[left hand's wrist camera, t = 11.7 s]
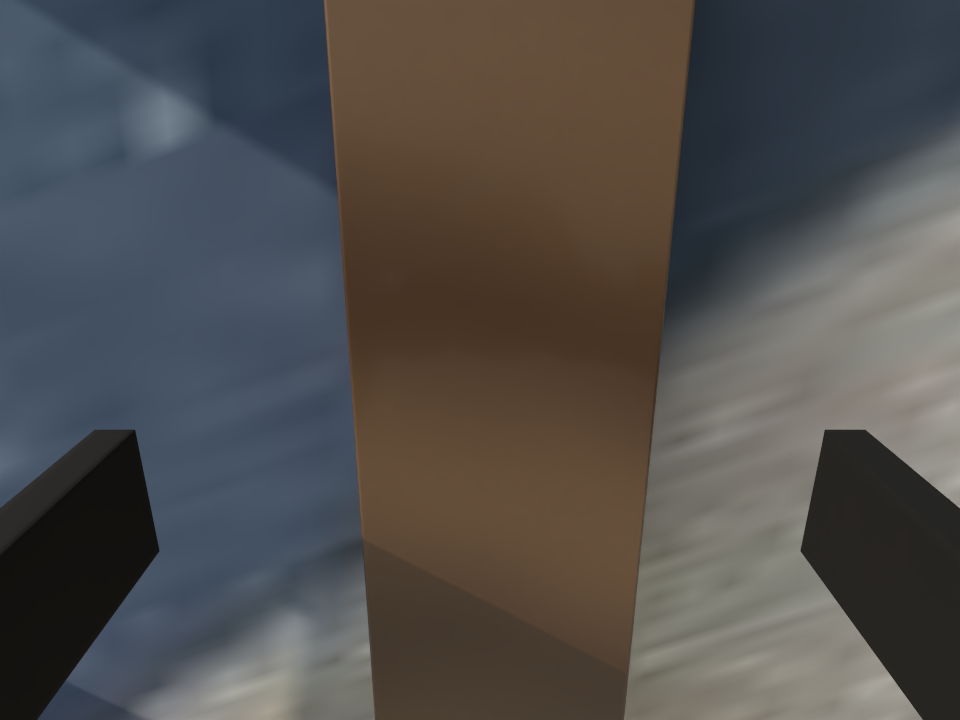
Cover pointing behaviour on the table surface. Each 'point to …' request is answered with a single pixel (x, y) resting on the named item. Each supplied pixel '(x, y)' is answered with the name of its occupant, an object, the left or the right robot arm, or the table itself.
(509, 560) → the bar
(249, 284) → the table surface
